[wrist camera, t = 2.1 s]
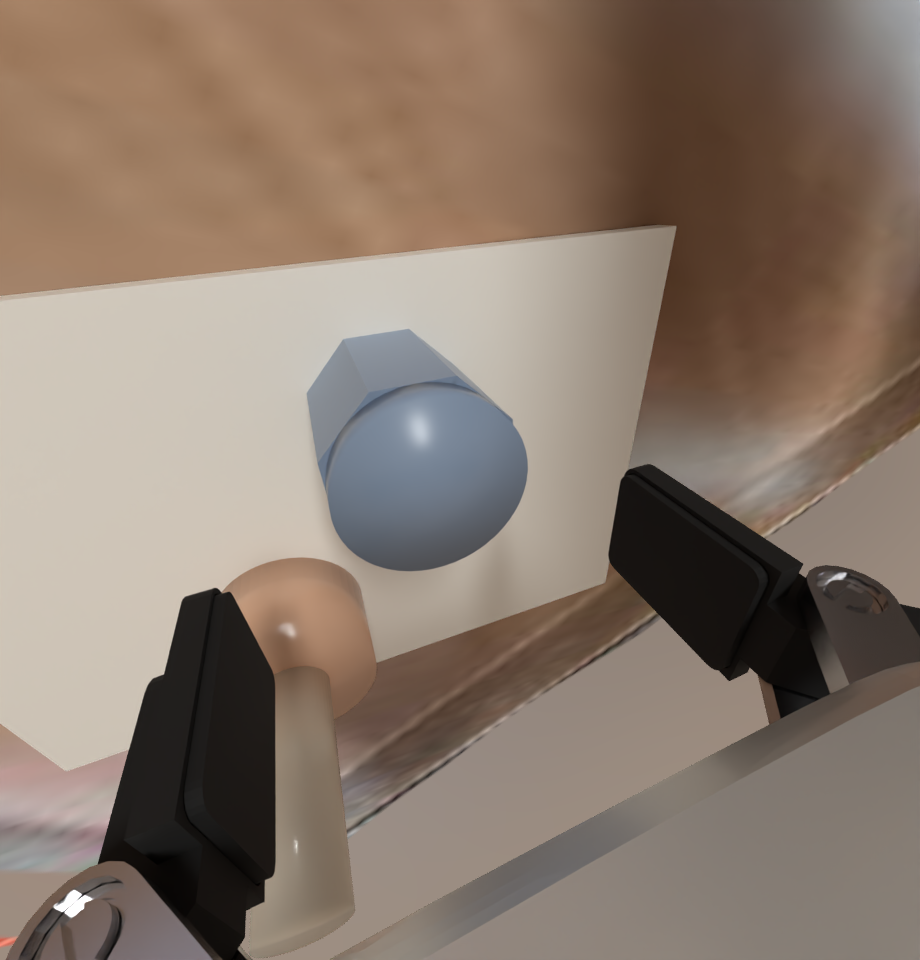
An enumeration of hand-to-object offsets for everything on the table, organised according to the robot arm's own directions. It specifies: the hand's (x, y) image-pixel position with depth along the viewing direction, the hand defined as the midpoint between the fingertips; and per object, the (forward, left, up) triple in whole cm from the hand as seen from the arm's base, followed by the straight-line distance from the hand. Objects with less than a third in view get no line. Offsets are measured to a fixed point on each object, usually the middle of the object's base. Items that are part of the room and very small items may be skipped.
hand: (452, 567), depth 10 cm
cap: (0, -1, -8) cm, 8 cm away
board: (+3, +4, -9) cm, 10 cm away
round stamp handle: (+6, +8, -8) cm, 13 cm away
